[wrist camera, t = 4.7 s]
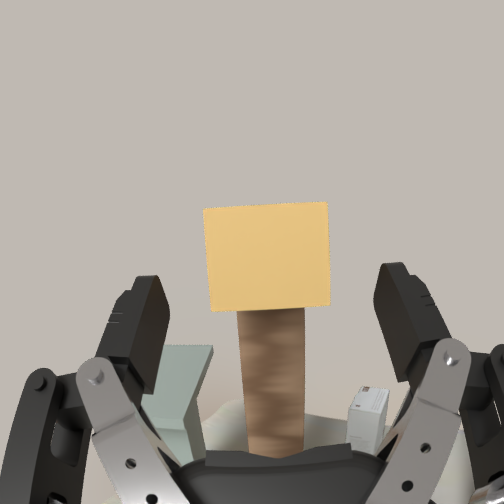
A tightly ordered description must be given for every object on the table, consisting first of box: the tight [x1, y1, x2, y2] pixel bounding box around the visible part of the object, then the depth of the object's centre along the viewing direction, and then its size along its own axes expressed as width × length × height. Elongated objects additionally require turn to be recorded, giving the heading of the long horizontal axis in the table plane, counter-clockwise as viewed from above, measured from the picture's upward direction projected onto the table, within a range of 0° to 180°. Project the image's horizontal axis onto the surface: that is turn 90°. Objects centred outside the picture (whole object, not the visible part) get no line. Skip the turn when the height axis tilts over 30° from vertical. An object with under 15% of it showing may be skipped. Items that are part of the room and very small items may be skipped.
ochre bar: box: [203, 202, 330, 312], centre depth 20 cm, size 4×22×3 cm, turn 178°
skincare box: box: [345, 386, 390, 455], centre depth 34 cm, size 6×4×12 cm
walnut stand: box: [237, 307, 305, 458], centre depth 27 cm, size 10×14×32 cm
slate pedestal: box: [141, 345, 213, 466], centre depth 28 cm, size 8×14×21 cm, turn 178°
